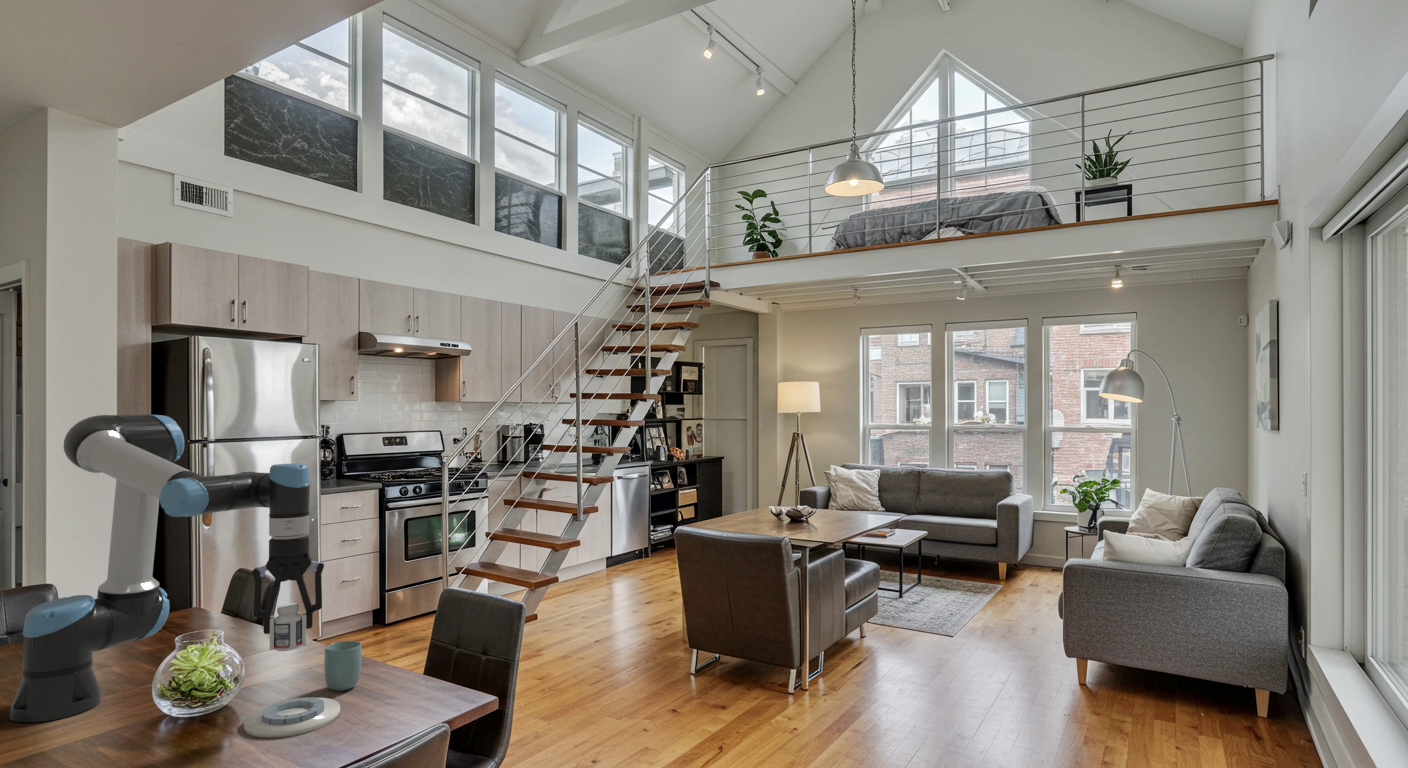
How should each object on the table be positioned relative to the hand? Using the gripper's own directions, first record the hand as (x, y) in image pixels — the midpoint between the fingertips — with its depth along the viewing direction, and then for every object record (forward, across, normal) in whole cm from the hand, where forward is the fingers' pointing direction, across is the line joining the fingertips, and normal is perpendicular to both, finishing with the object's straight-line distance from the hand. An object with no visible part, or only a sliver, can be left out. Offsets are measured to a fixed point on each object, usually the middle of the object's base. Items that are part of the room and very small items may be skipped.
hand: (288, 646), depth 159 cm
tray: (+16, +1, 0) cm, 16 cm away
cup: (+16, +11, +16) cm, 25 cm away
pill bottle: (0, 0, 0) cm, 0 cm away
